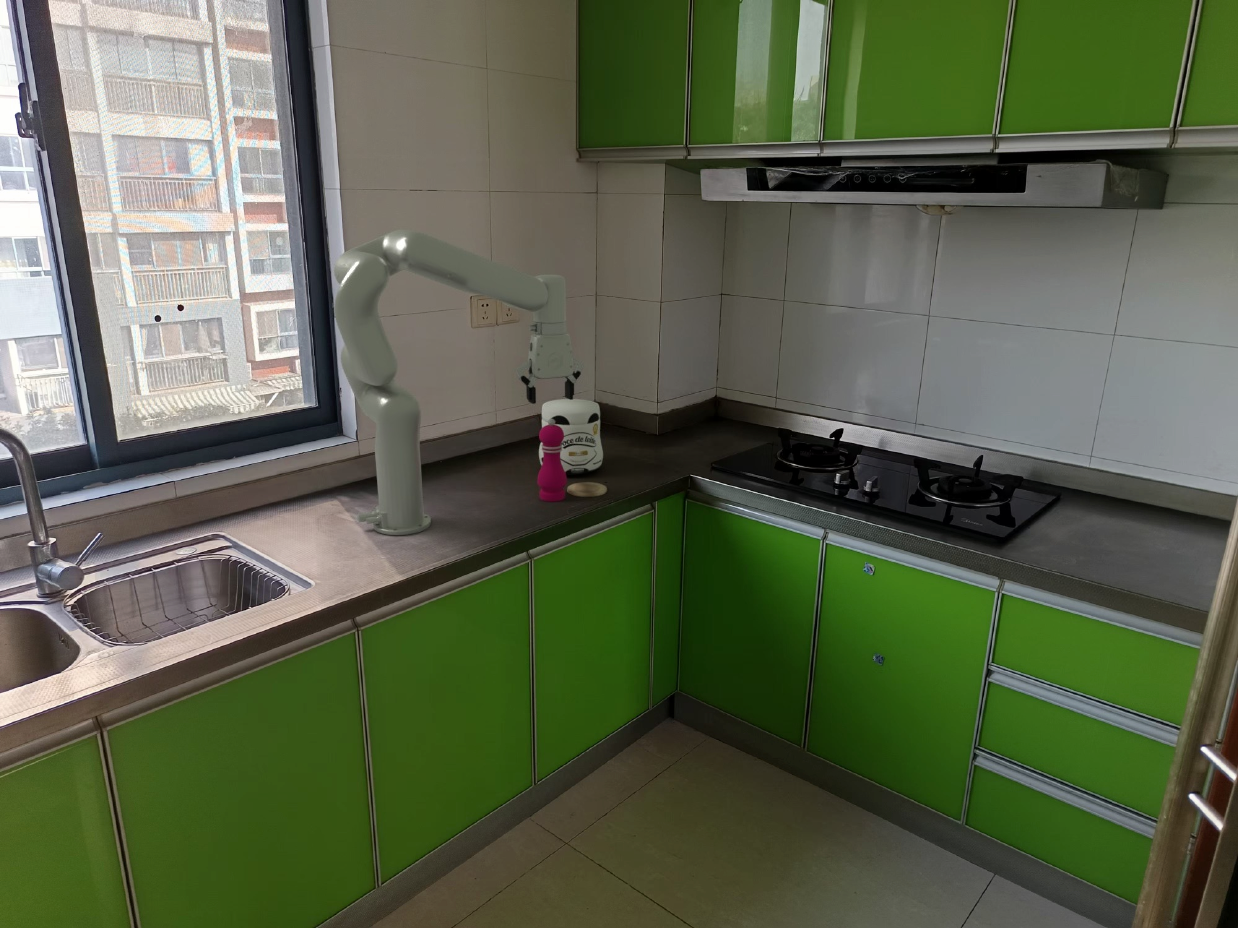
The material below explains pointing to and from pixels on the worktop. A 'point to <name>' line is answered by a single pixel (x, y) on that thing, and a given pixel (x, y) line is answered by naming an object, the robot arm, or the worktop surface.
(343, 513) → the worktop surface
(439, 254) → the robot arm
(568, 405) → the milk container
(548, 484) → the pepper mill
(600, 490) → the plate
